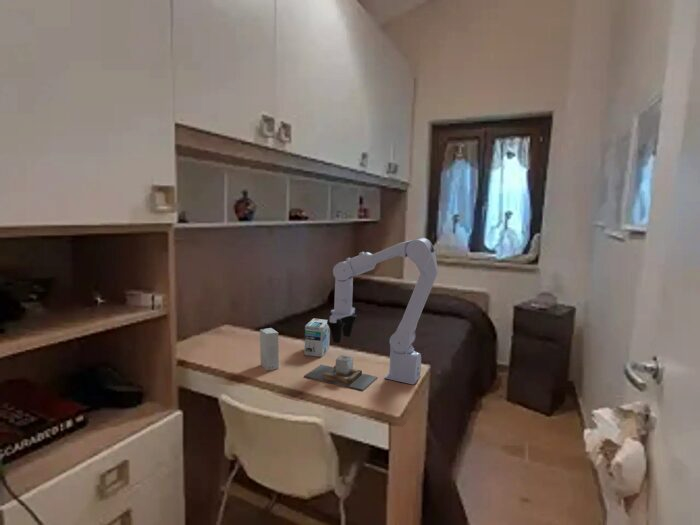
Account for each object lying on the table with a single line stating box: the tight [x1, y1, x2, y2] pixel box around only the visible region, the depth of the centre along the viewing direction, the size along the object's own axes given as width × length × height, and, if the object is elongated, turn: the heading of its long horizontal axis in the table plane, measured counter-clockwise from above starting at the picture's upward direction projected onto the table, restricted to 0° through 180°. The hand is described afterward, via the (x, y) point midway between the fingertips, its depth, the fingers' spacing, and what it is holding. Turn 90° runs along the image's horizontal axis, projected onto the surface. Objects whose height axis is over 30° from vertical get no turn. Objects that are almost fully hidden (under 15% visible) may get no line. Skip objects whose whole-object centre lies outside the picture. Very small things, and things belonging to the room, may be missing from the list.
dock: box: [303, 364, 378, 392], centre depth 140 cm, size 20×11×2 cm, turn 65°
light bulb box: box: [304, 318, 331, 358], centre depth 162 cm, size 11×7×11 cm, turn 169°
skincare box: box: [259, 327, 280, 371], centre depth 146 cm, size 6×4×12 cm
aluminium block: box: [335, 355, 354, 378], centre depth 139 cm, size 4×4×6 cm
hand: (341, 339), depth 148 cm, fingers open, 7 cm apart
